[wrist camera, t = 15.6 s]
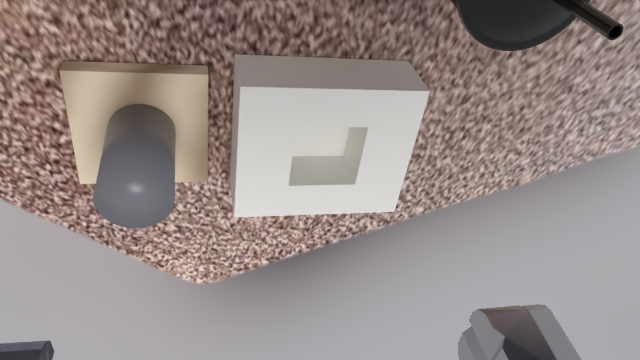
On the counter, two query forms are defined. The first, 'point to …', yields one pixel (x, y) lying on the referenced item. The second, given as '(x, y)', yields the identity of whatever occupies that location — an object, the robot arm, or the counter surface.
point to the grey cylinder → (137, 167)
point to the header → (321, 134)
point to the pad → (137, 88)
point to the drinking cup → (528, 21)
